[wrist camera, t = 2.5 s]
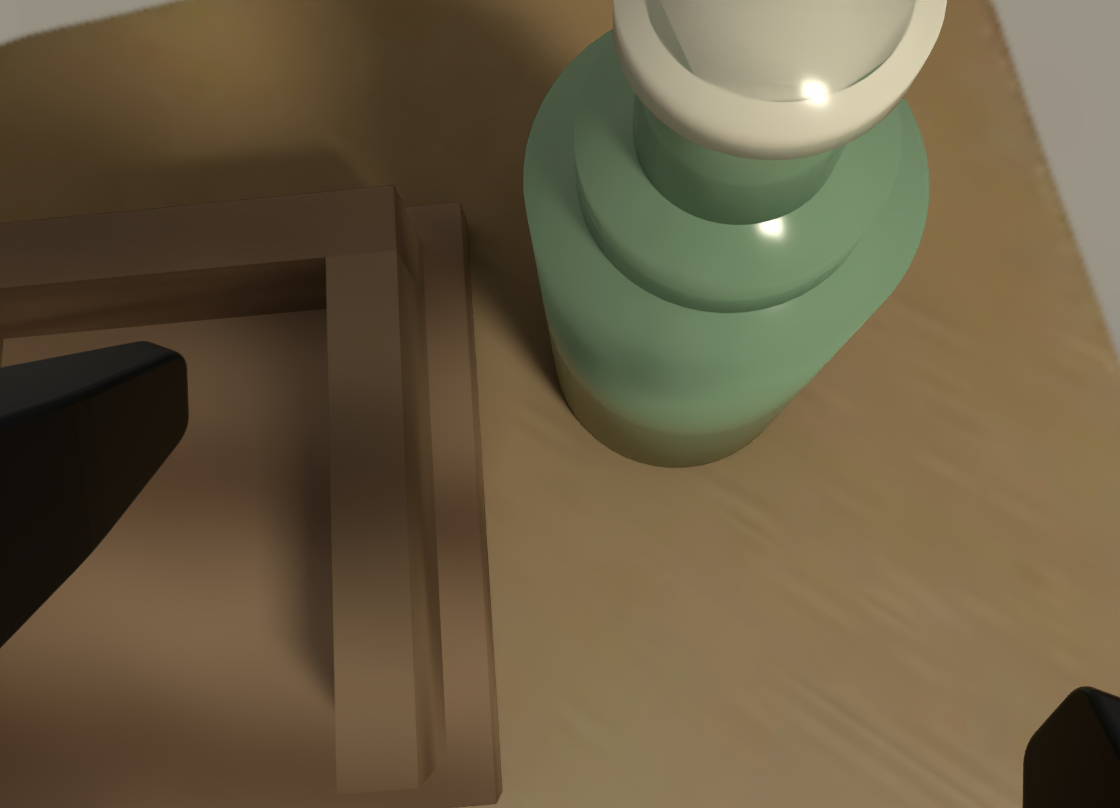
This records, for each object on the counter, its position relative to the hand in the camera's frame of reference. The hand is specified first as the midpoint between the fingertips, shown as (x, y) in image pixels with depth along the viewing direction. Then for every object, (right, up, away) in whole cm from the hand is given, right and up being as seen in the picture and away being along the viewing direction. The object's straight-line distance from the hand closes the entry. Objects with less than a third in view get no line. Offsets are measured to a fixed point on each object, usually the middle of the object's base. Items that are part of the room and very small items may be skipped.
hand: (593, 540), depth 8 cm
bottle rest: (-9, -1, +13) cm, 16 cm away
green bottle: (+3, +3, +13) cm, 14 cm away
